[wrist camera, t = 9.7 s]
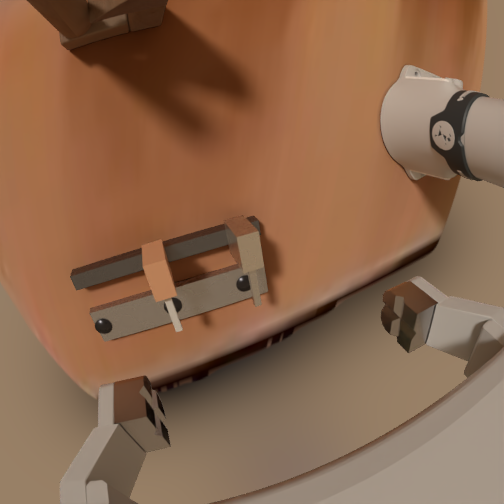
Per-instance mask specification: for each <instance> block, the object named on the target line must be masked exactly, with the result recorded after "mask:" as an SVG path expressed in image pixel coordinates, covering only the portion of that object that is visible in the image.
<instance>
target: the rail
mask: <svg viewBox="0 0 504 504" xmlns="http://www.w3.org/2000/svg"><path fill="white" fill-rule="evenodd" d="M259 235H261V233H260V227H259V220H258V219H257V218H255V217H254V216H251V217H247V218H245V217H244V216H243V215H241V216H237V217H234V218H230V219H227V220H224V224H222V225H218V226H215V227H211V228H208V229H204V230H201V231H197V232H194V233H190V234H187V235H184V236H180V237H177V238H173V239H170V240H167V241H163V246H164V249H165V252H166V255H167V259H168V262H171V261H175V260H178V259H181V258H185V257H188V256H191V255H195V254H198V253H201V252H205V251H208V250H212V249H215V248H218V247H222V246H225V245H229V249H230V253H231V255H232V257H233V258H234V260H235V261H236V263H237V264H238V266H239V267H240V269H241V270H242V272H243V273H248V278H249V283H250V289H251V294H252V299H253V304H254V305H255V307H256V306H259V305H262V304H261V298H260V292H259V286H258V280H257V275H256V270H257V269H260V268H263V267H264V262H263V256H262V249H261V243H260V237H259ZM141 270H144V269H143V263H142V248H140V249H137V250H133V251H130V252H127V253H124V254H121V255H117V256H114V257H111V258H108V259H105V260H101V261H98V262H95V263H92V264H89V265H86V266H83V267H80V268H77V269H73V270H72V273H71V276H70V278H71V280H72V282H73V284H74V286H75V288H76V290H80V289H83V288H86V287H89V286H92V285H96V284H99V283H102V282H105V281H109V280H112V279H115V278H118V277H122V276H125V275H128V274H132V273H135V272H138V271H141Z"/></svg>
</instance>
